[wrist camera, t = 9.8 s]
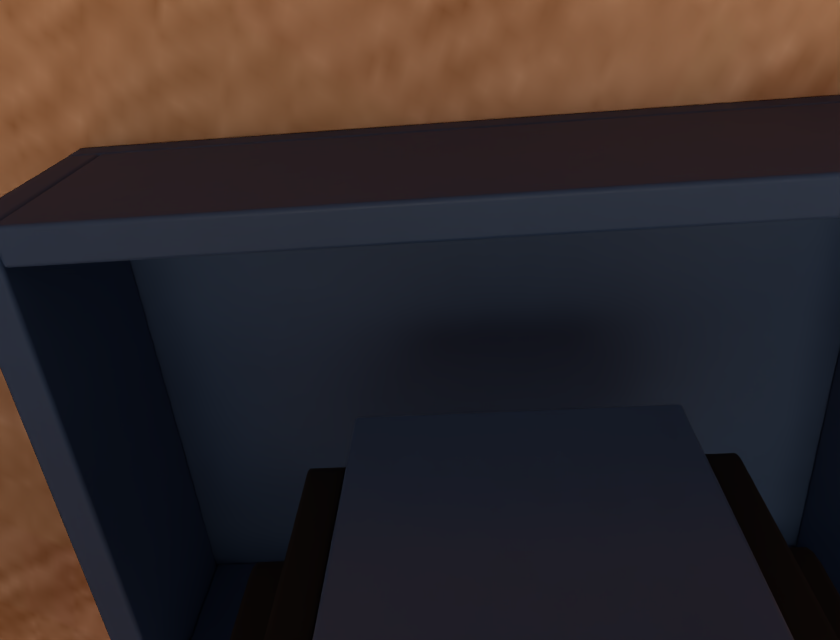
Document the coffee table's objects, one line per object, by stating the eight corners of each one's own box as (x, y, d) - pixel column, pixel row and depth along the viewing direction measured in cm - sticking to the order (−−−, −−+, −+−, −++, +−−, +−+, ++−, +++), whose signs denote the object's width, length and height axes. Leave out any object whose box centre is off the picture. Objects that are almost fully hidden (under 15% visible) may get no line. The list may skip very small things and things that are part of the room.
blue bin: (203, 566, 18) (143, 724, 14) (79, 147, 13) (-59, 229, 9) (809, 546, 17) (905, 710, 13) (915, 88, 12) (1108, 155, 9)
